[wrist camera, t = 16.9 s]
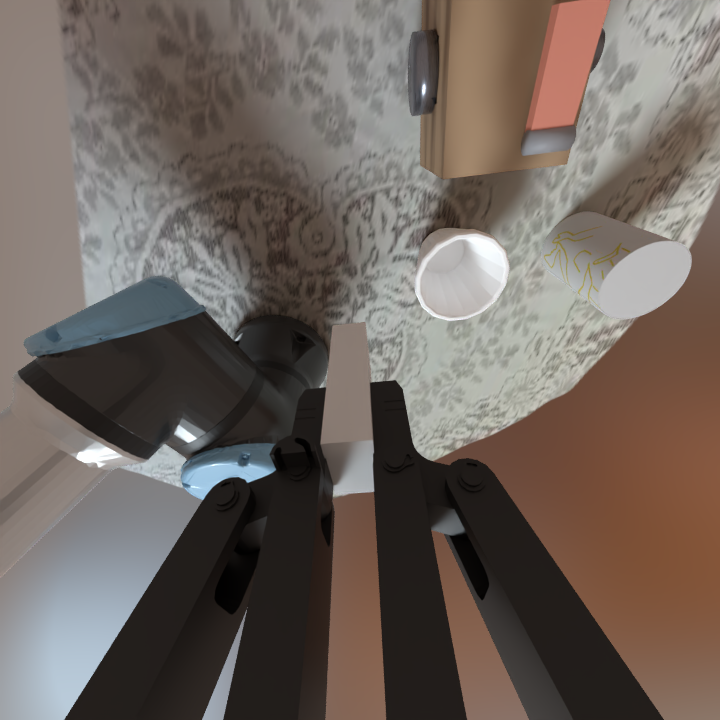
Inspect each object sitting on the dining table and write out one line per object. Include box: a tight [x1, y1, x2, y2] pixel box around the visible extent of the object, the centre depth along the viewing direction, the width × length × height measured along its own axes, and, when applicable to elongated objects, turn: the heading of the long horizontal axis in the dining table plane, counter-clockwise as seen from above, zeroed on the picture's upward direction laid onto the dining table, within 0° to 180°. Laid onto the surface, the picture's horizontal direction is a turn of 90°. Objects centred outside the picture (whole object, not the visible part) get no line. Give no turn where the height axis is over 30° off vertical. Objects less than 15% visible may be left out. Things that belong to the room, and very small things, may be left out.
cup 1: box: [415, 228, 510, 321], centre depth 37 cm, size 10×10×9 cm
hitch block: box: [420, 0, 596, 179], centre depth 26 cm, size 10×14×11 cm
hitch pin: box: [408, 28, 605, 116], centre depth 26 cm, size 15×5×5 cm, turn 96°
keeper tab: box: [521, 0, 610, 156], centre depth 21 cm, size 3×8×2 cm, turn 6°
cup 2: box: [541, 211, 692, 319], centre depth 35 cm, size 8×8×12 cm
